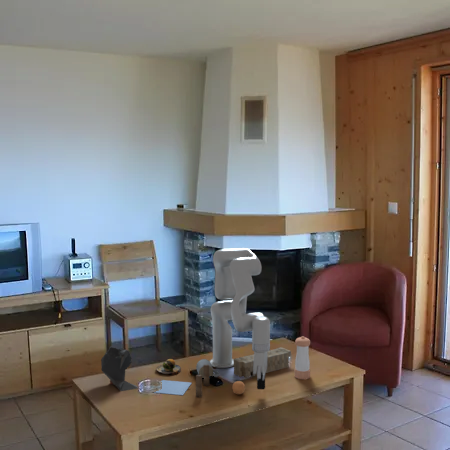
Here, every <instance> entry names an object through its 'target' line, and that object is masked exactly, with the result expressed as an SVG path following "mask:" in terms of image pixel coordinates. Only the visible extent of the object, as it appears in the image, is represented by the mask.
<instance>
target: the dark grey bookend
mask: <svg viewBox="0 0 450 450" xmlns="http://www.w3.org/2000/svg"><path fill="white" fill-rule="evenodd" d="M100 361H101V367H100V368H101V372H102V373H103V374H104V375H105V376H106V377H107V378H108V379H109V384H110V385H114V386H115V387H116V388H117V389H118V390H119V391H120V392H124V391H130V390H136V389H139V387H138V386H137V385H135V384H133V383H130V382H128V381H126V380H125V379H126V370H127V368H129V367H130V366H131V364H132V363H133V362H132V355H131V352H130V350H128V349H121V348H116V347H113V346H109V348H108V349H107V352H105V353H104V355H103V356H102V357H101V360H100Z"/></svg>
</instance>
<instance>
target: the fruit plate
mask: <svg viewBox="0 0 450 450" xmlns="http://www.w3.org/2000/svg"><path fill="white" fill-rule="evenodd" d="M155 370H156V371H158V372H159V373H160V374H161V373H162V374H165V375H167V374H170V375H171V376H175V375H177V373H178V374H180V373H181V372H182V368H181V366H180V365H178V364H176V361H175V360H174V359H173V358H169V359H167V360H166V362H165V361H164V362H163V364H160V365H158V366H156V368H155Z"/></svg>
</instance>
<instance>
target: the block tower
mask: <svg viewBox="0 0 450 450" xmlns="http://www.w3.org/2000/svg"><path fill="white" fill-rule="evenodd" d="M267 357H268V361H267V370H266V372H265V374H266V373H271V372H275V371H279V370H282V369H287V368H289V367H290V365H289V364H290V362H289V357H292V351H291V350H289V349H286V348H284V347H277V348H274V349H270V351H268V352H267ZM232 359H233V360H234V366H233V374H234V375H235V376H237V377H239V378H242V377H243V378H245V379H247V378H248V379H249V378H251V376H252V377H255V376H256V377H257V372H256V374H255V375H254V374H253V360H254V354H250V355H244V356H240V357H237V358H232Z"/></svg>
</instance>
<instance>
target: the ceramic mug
mask: <svg viewBox="0 0 450 450" xmlns="http://www.w3.org/2000/svg"><path fill="white" fill-rule="evenodd" d="M203 365H209V376H212V377H213V376H214V378H218V377H219V376H220V372H219V371H217V370H216V369H214V368H213V366H212V365H211V363H210V360H209V359H206V358H203V359H200V360H199V361H197V363H196V366H195V368H196V369H195V370H196V371H197V375H202V378H204V370H203Z"/></svg>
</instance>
